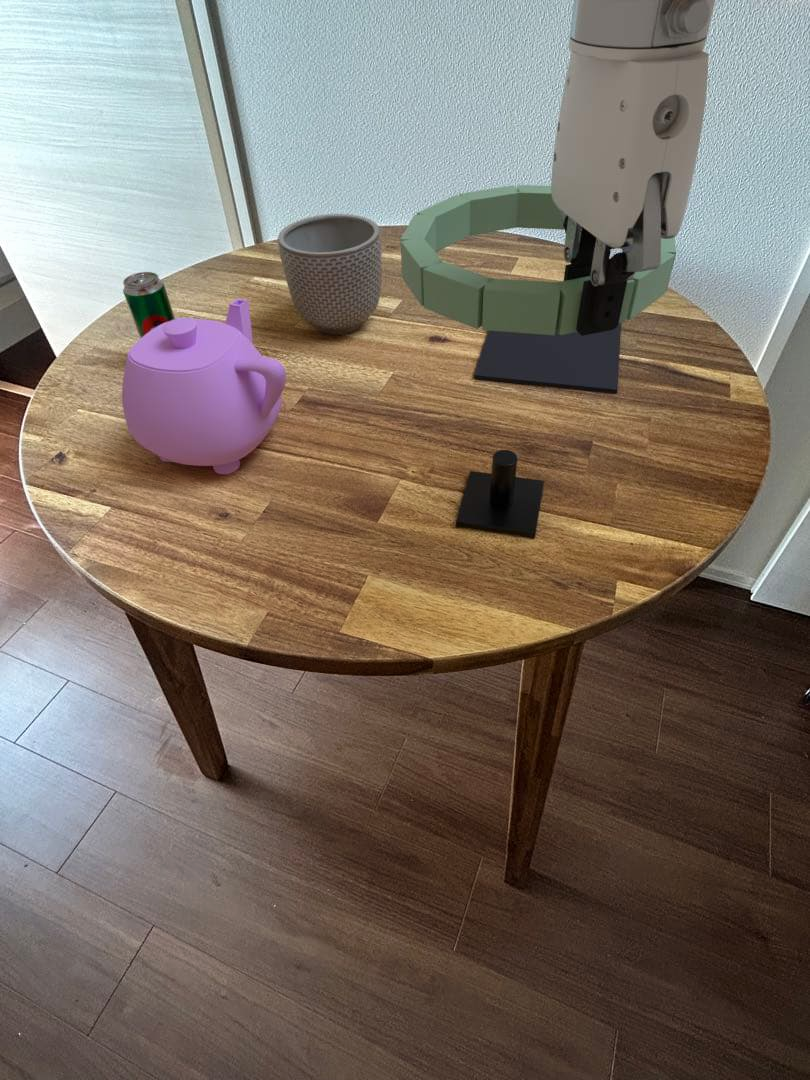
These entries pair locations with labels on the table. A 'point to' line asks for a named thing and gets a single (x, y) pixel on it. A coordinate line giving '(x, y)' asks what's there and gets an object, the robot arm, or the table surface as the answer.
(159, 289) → the soda can
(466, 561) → the table surface
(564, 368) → the mat
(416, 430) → the table surface
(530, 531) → the post
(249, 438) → the teapot
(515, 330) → the hoop
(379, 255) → the planter
